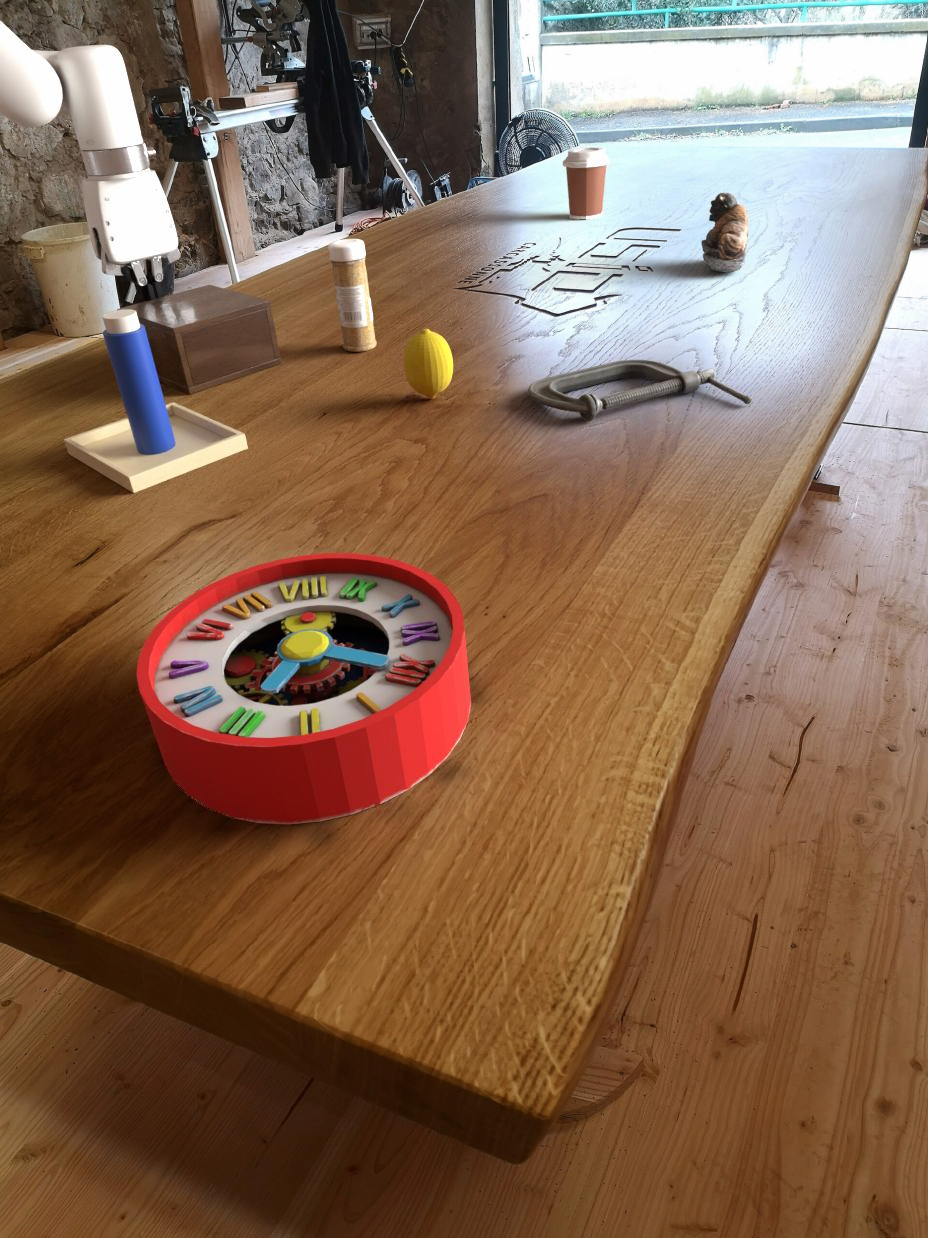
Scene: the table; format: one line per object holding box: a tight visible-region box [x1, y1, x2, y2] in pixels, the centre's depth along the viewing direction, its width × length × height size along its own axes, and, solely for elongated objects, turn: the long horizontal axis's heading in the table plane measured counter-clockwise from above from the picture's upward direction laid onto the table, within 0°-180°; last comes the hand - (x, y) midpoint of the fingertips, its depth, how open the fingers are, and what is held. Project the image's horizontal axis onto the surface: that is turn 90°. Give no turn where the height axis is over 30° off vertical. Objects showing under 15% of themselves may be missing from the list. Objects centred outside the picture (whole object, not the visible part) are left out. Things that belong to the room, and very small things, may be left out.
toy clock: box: [135, 552, 472, 825], centre depth 57 cm, size 20×6×20 cm
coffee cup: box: [562, 146, 611, 221], centre depth 177 cm, size 9×9×12 cm
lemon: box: [403, 328, 454, 400], centre depth 101 cm, size 6×6×8 cm
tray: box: [63, 401, 249, 494], centre depth 95 cm, size 15×13×2 cm
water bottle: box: [101, 309, 176, 455], centre depth 92 cm, size 4×4×14 cm
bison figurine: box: [701, 191, 749, 273], centre depth 139 cm, size 12×7×10 cm, turn 175°
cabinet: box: [116, 284, 282, 395], centre depth 116 cm, size 15×14×8 cm
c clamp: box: [527, 359, 753, 422], centre depth 98 cm, size 20×17×3 cm
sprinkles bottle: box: [327, 238, 377, 353], centre depth 117 cm, size 5×5×14 cm
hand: (155, 312), depth 122 cm, fingers closed
